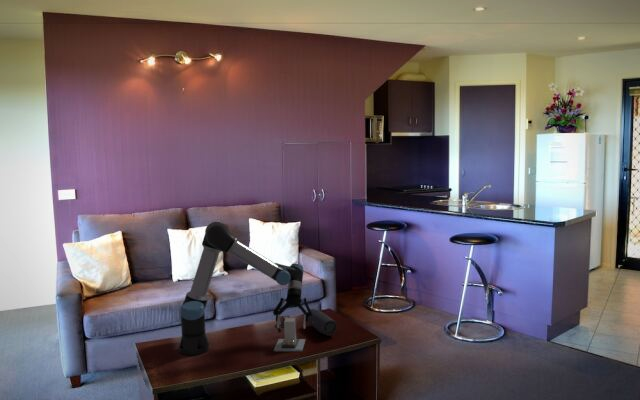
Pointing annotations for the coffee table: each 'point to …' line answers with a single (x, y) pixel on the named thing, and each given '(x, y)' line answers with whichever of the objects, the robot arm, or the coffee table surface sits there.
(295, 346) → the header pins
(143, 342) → the coffee table surface
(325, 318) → the bluetooth speaker
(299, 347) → the board
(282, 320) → the walkie-talkie
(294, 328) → the plug block
